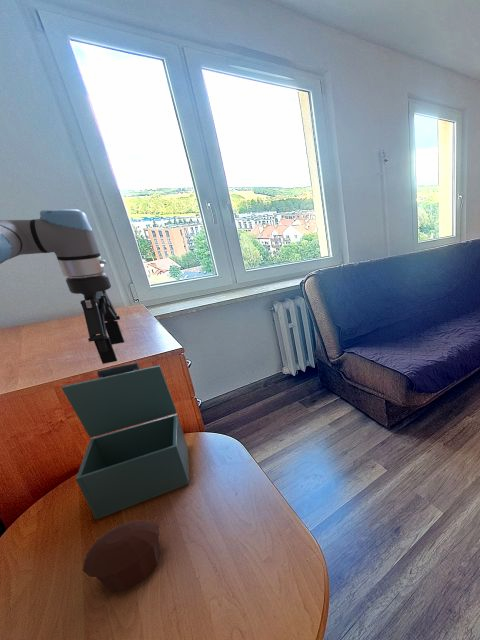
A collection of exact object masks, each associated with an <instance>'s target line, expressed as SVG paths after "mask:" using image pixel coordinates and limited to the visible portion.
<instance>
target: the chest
mask: <svg viewBox="0 0 480 640" xmlns="http://www.w3.org/2000/svg"><path fill="white" fill-rule="evenodd" d="M185 437H186V436H185V433H184V431H183V428H182V424H181V421H180V418H179V416H178V413H175V414H172V415H168V416H165V417H161V418H158V419H154V420H151V421H147V422H144V423H140V424H137V425H134V426H130V427H127V428H123V429H120V430H116V431H113V432H109V433H106V434H102V435H99V436H95V437H92V438H90V440H89V442H88V445H87V448H86V451H85V453H84V456H83V458H82V461H81V463H80V466H79V469H78V472H77V474H76V477H75V481H76V483H77V485H78V487H79V489H80V491H81V493H82V495H83V497H84V499H85V501H86V503H87V504H88V507H89V510H90V511H91V513H92V516H93V518H94V520H98V519H101V518H104V517H107V516H109V515H111V514H114V513H117V512H119V511H122V510H125V509H127V508H130V507H132V506H135V505H138V504H140V503H143V502H146V501H149V500H151V499H153V498H157V497H158V496H161V495H164V494H166V493H169V492H172V491H174V490H176V489H180V488H182V487H185V486H187V485H189V484H190V464H189V446H188V443H187V440H186V438H185Z"/></svg>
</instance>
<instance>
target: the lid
mask: <svg viewBox="0 0 480 640" xmlns="http://www.w3.org/2000/svg"><path fill="white" fill-rule="evenodd" d="M96 374H97V377H98V378H94V379H89V380H84V381H80V382H75V383H71V384H66V385H62V386H61V390H62V392H63V393H64V395H65V397H66V399H67V401H68V402H69V404H70V406H71V408H72V410H73V411H74V413H75V414H76V416H77V418H78V420H79V421H80V423H81V425H82V427H83V429H84V431H85V432H86V434H87V435H88V437H89V438H90V439H91V438H94V437H98V436H101V435H105V434H108V433H112V432H115V431H119V430H122V429H126V428H129V427H133V426H136V425H140V424H143V423H147V422H150V421H154V420H157V419H161V418H164V417H167V416H171V415H174V414H178V413H177V409H176V406H175V403H174V401H173V397H172V394H171V392H170V389H169V387H168V384H167V381H166V378H165V375H164V373H163V370H162V367H161V364H158V365H154V366H149V367H144V368H140V364H139V362H132V363H127V364H122V365H119V366H112V367H108V368H103V369H98V370H97V373H96Z"/></svg>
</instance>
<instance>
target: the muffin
mask: <svg viewBox="0 0 480 640" xmlns="http://www.w3.org/2000/svg"><path fill="white" fill-rule="evenodd" d="M159 538H160V525H159V524H157V523H156V522H154V521H153V520H131V521H127V522H125V523H121V524H119V525H117V526H115V527H114V528H112V529H110V530H108V531H107V532H105V533H104V534H103V535H102V536H100V537H99V538H98V539H97V540H96V541H95V542H94V544H93V545H92V546H91V547H90V549H89V550H88V551H87V553H86V555H85V559H83V565H82V566H83V567H82V571H83V573H85V574H86V575H87V576H88V577H89V578H96V579H97V580H98V581H99V582H100V583H101V584H102V585H103V586H104V587H105V588H106V589H108V590H109V591H110V592H111V593H113V592H117V591H128V590H129V589H130V588H132V587H135V586H136V585H137V584H139V583H141V582H143V581H144V580H146V578H147V577H148V576H149V575H150V573H152V571H153V570H154V569H155V568H156V567H158V564H159V558H160V556H161V545H160V539H159Z"/></svg>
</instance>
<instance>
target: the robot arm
mask: <svg viewBox="0 0 480 640" xmlns="http://www.w3.org/2000/svg"><path fill="white" fill-rule="evenodd" d="M39 215H40V217H39V218H36V219H34V218H33V219H0V265H1V264H3V263H4V262H6V261H8V260H10V259H11V260H12V259H13V258H16V257H18V256H21V255H22V256H23V255H35V254H50V253H54V254H55V256H56V259H57V262H58V264H59V268H60V270H61V273H62V276H64V277H66V278H65V282H66V285H67V288H68V291H69V292H70V293H72V294H75V295H80V294H81V295H82V296H83V299H82V300H80V305H81V307H82V311H83V315H84V319H85V322H86V327H87V332H88V337H89V338H87V340H88V342H90V343H91V342H93V343H94V345H95V349H96V350H97V353H98V355H99V358H100V360H101V361H100V362H101V363H102V365H106V364H110V363H114V362H118V358H117V355H116V353H115V349H114V346H113V345H119V344H123V343H124V344H125V339H124V336H123V333H122V330H121V327H120V325H119V320H121V317H120V315H118V313H117V311H116V309H115V308H114V305H113V303H112V301H111V300H110V297H109V295H108V293H107V291H108V290H109V289H111V287H112V284H111V282H110V278H109V276H108V274H107V273H105V272H106V268H105V267H106V266H105V265H106V264H107V261H106V260H105V259H102V256H101V253H100V249H99V247H98V246H99V245H98V244H97V243H98V242H97V240H96V237H95V235H94V230H93V228H92V227H91V224H90V221H89V220H88V219H89V218H88V217H87V214H86V213H85V212H84V211H82V210H80V209H69V208H67V209H42V210H40V211H39Z"/></svg>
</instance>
